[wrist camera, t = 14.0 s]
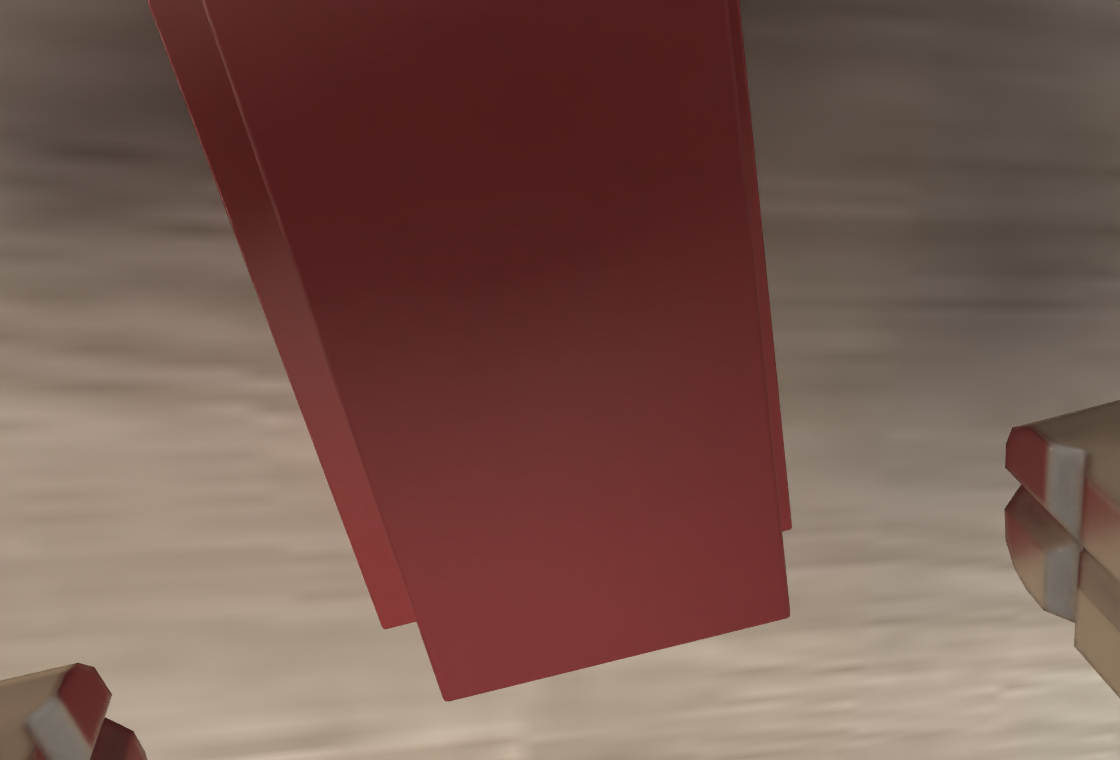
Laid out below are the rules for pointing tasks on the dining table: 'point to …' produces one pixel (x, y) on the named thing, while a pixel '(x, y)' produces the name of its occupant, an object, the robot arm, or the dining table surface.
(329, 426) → the burgundy books
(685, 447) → the red rectangular block
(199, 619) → the dining table surface
